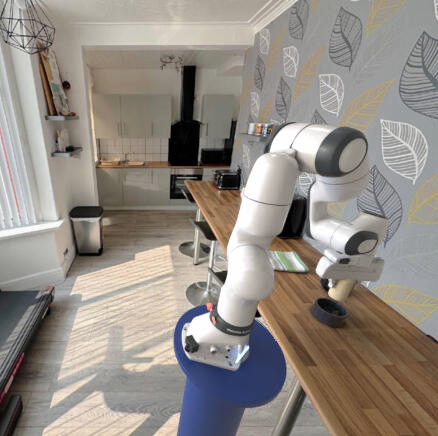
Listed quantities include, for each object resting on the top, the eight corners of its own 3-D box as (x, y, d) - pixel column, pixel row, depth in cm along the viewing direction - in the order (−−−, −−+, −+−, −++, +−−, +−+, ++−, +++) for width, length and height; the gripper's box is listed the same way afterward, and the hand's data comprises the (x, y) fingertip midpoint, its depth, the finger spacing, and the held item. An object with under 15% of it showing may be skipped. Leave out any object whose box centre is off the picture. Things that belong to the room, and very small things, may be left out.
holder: (321, 326, 88) (326, 316, 86) (306, 306, 97) (310, 296, 95) (349, 328, 88) (355, 318, 86) (331, 307, 97) (335, 298, 95)
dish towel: (309, 274, 118) (311, 268, 116) (262, 269, 119) (263, 264, 118) (293, 255, 133) (294, 250, 132) (251, 252, 135) (252, 246, 134)
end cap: (337, 284, 111) (342, 272, 109) (350, 294, 105) (356, 282, 102) (317, 284, 110) (322, 272, 108) (329, 295, 104) (335, 283, 101)
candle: (333, 300, 86) (343, 278, 82) (324, 290, 91) (334, 269, 87) (349, 302, 85) (360, 280, 81) (340, 292, 90) (350, 271, 86)
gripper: (378, 252, 84) (362, 283, 89) (320, 249, 84) (308, 280, 90) (394, 263, 78) (376, 295, 83) (331, 259, 78) (318, 291, 84)
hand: (340, 287), depth 87 cm, fingers closed on candle, 5 cm apart
